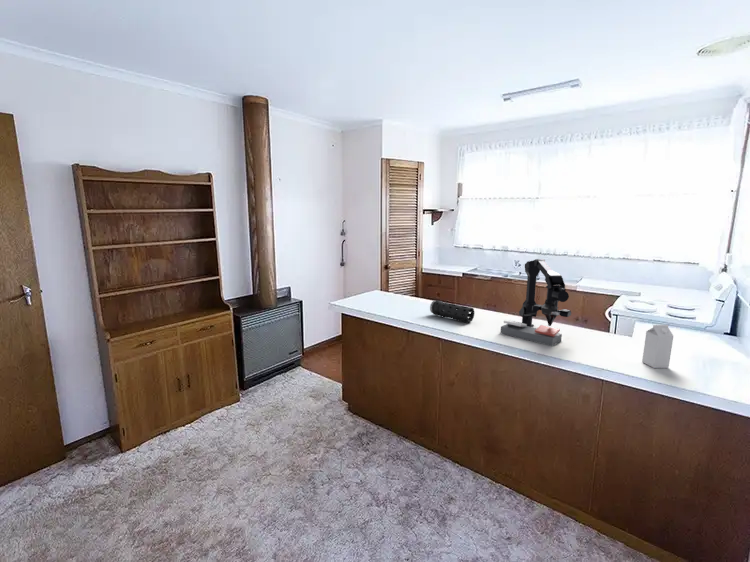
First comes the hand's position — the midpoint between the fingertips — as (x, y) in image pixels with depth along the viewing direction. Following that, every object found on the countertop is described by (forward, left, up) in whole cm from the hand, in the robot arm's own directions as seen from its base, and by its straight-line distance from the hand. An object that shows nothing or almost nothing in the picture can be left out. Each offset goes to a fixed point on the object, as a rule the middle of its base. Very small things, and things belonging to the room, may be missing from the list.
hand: (549, 325), depth 209 cm
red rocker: (+3, 0, -2) cm, 4 cm away
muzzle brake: (+5, -60, -8) cm, 61 cm away
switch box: (+3, -9, -8) cm, 12 cm away
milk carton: (0, +48, -8) cm, 49 cm away
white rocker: (+3, -18, -2) cm, 18 cm away
